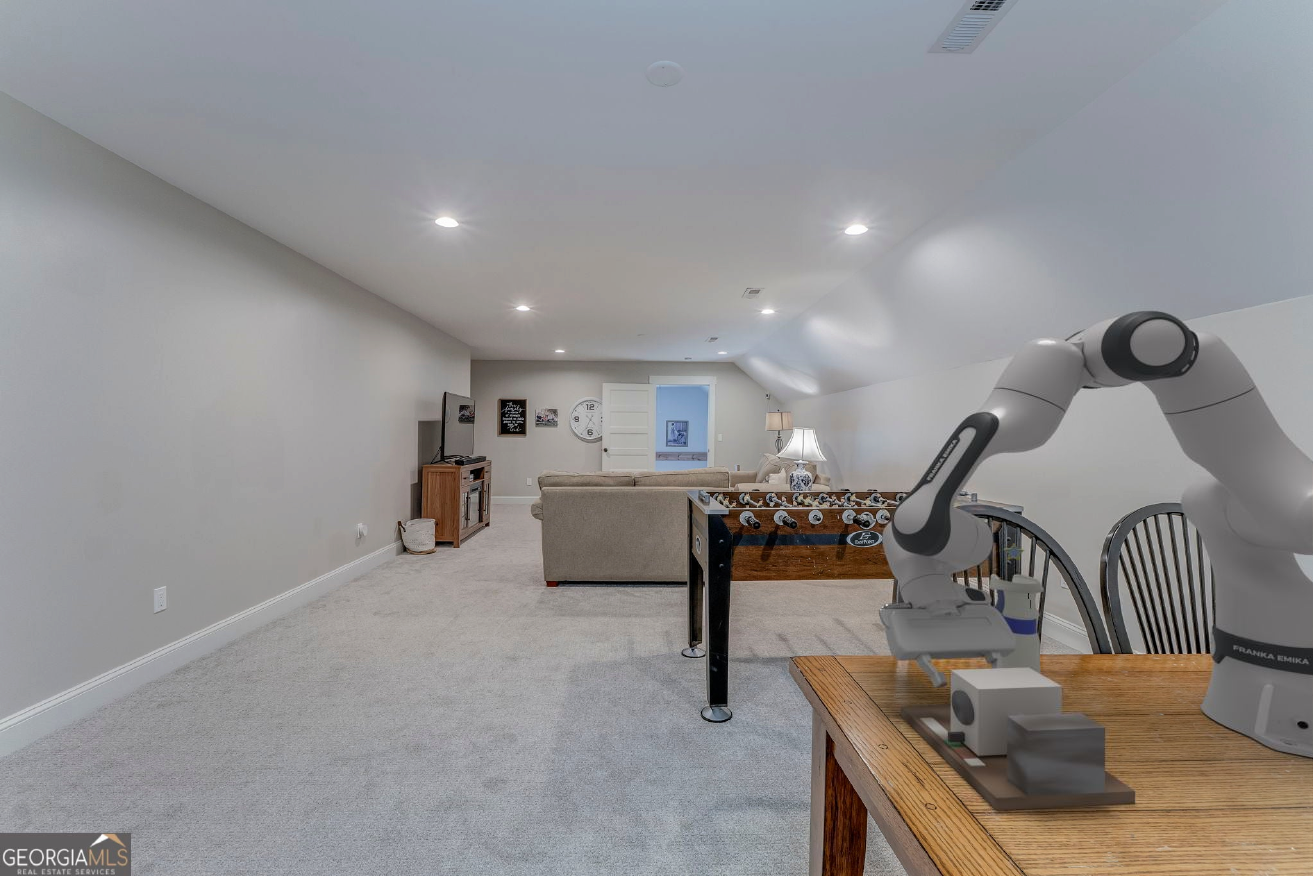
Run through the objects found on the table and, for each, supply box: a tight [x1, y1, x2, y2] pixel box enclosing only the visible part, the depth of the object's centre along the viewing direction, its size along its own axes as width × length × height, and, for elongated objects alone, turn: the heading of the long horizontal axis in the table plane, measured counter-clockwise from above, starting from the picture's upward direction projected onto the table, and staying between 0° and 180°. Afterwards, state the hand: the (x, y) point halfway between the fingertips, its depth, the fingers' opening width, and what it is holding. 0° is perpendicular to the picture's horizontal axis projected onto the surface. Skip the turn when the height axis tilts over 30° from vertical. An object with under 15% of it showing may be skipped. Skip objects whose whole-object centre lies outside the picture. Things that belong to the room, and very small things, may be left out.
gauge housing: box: [948, 667, 1063, 756], centre depth 75 cm, size 8×14×9 cm, turn 94°
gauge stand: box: [900, 704, 1136, 811], centre depth 77 cm, size 22×18×10 cm
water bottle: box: [988, 543, 1045, 675], centre depth 99 cm, size 8×9×25 cm
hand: (970, 684), depth 84 cm, fingers open, 8 cm apart
